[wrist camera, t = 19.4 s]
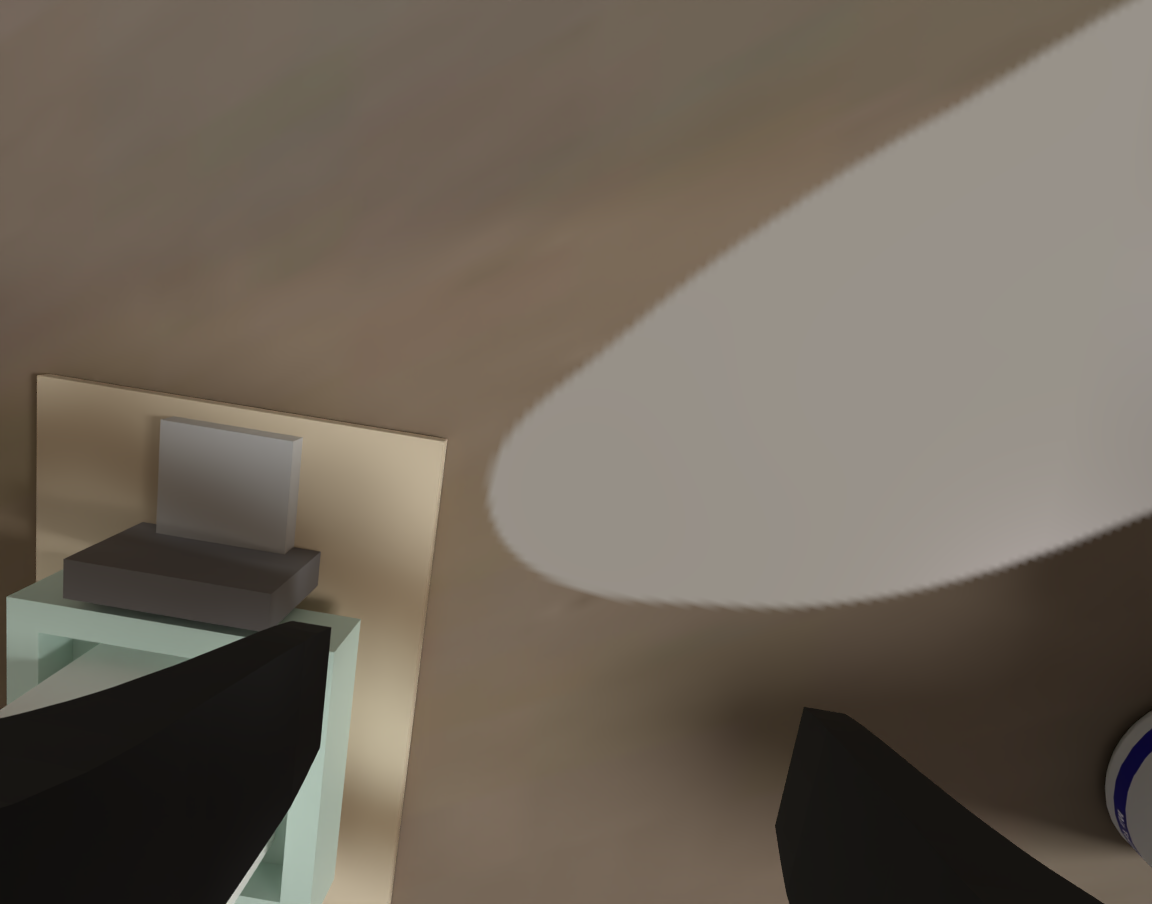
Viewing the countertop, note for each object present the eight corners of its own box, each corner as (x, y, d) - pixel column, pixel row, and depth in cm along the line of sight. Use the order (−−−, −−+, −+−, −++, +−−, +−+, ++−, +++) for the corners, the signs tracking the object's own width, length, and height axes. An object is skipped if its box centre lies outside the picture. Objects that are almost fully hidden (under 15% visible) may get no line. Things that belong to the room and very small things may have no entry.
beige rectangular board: (371, 1063, 24) (332, 1184, 21) (43, 1004, 24) (-48, 1115, 21) (447, 438, 20) (414, 466, 17) (48, 373, 20) (-64, 388, 17)
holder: (334, 878, 21) (307, 933, 20) (60, 830, 22) (7, 880, 20) (361, 619, 20) (334, 652, 18) (63, 568, 20) (6, 596, 18)
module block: (274, 839, 20) (137, 1057, 15) (97, 807, 21) (-111, 1011, 15) (289, 674, 19) (147, 837, 14) (102, 641, 19) (-119, 789, 14)
